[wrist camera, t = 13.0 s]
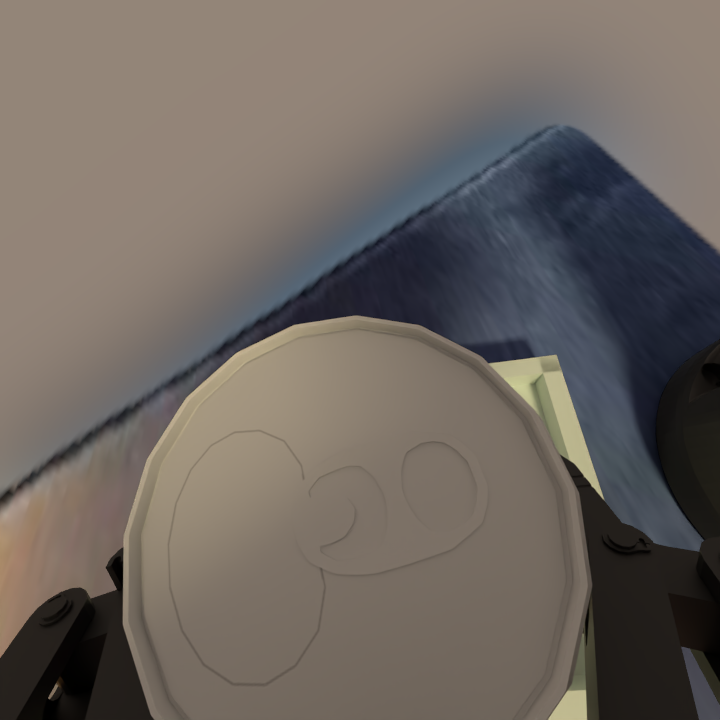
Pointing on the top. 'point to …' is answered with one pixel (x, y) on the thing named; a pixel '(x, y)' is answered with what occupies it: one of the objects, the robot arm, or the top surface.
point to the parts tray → (553, 404)
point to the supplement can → (355, 539)
